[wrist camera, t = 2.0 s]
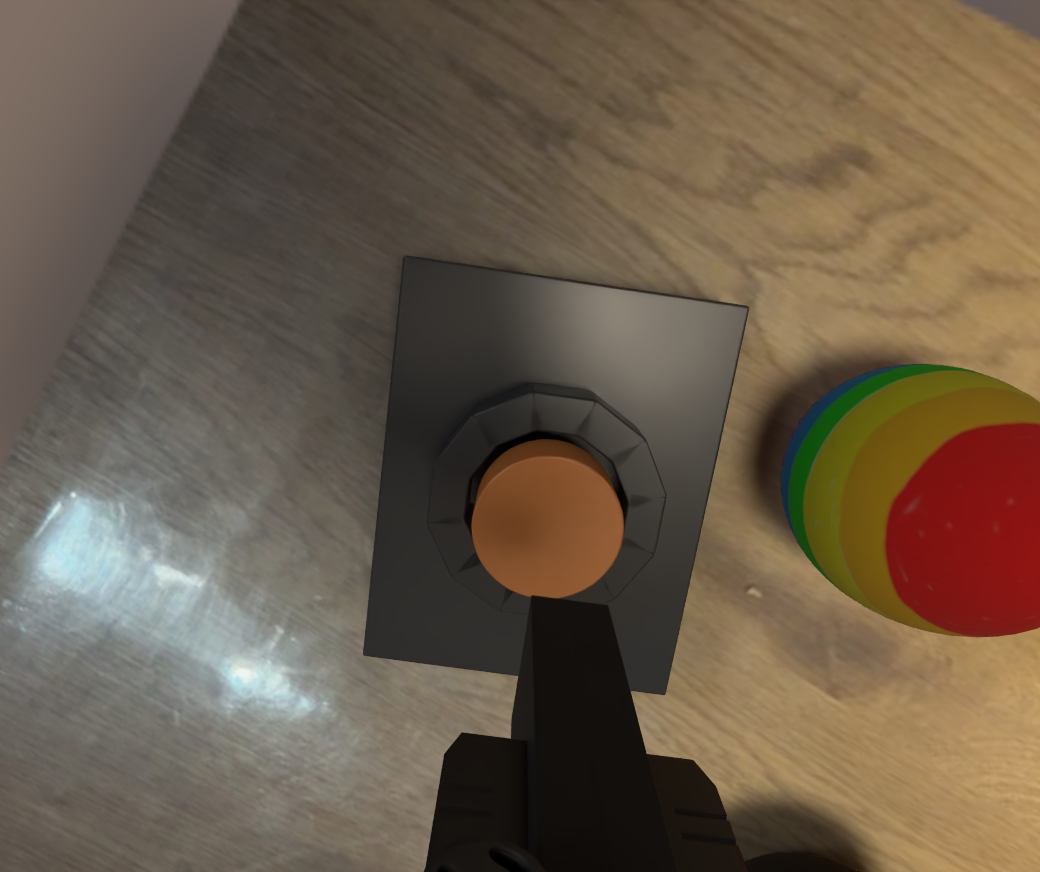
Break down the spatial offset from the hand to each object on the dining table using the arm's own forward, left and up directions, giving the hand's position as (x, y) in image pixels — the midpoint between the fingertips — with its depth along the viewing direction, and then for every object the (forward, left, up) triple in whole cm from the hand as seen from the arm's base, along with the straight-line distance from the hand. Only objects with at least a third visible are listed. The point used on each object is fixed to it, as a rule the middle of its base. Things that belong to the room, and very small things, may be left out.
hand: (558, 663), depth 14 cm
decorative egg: (-2, +12, -14) cm, 18 cm away
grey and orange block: (0, 0, -13) cm, 13 cm away
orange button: (0, 0, -9) cm, 9 cm away
